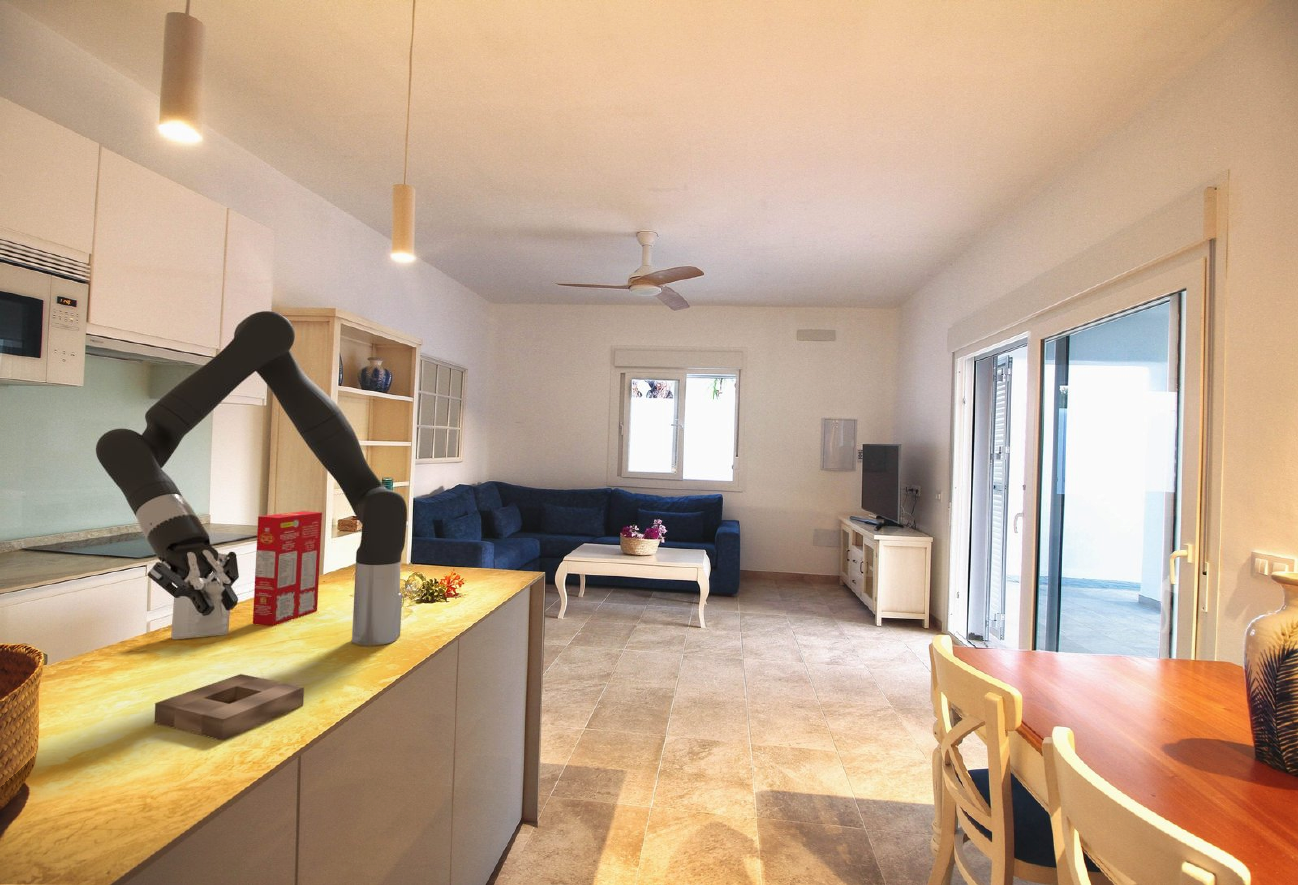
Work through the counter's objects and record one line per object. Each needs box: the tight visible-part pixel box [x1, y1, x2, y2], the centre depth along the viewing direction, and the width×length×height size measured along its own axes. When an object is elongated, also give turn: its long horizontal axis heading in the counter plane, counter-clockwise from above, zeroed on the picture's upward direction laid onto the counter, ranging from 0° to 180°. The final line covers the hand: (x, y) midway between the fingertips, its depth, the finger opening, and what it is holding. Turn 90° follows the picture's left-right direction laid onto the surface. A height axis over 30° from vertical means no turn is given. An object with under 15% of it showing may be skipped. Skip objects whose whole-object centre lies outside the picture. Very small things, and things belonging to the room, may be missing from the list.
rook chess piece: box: [195, 582, 227, 637], centre depth 105 cm, size 4×4×8 cm
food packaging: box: [252, 510, 323, 627], centre depth 157 cm, size 15×5×25 cm, turn 169°
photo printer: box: [170, 578, 231, 640], centre depth 140 cm, size 10×4×12 cm, turn 123°
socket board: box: [153, 673, 305, 741], centre depth 102 cm, size 14×14×3 cm
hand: (221, 609), depth 104 cm, fingers closed on rook chess piece, 3 cm apart
